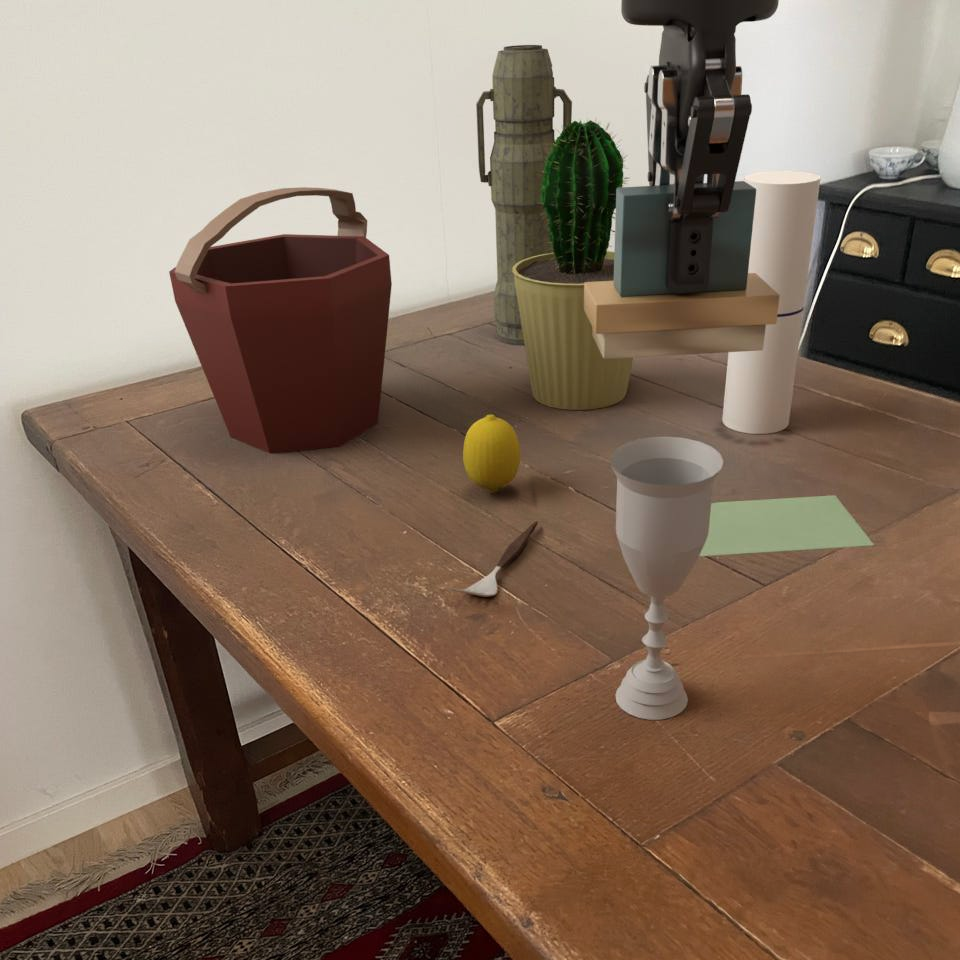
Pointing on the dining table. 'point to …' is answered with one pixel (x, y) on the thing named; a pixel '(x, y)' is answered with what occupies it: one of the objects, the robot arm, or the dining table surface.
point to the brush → (688, 316)
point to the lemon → (491, 453)
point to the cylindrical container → (784, 267)
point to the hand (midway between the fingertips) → (680, 282)
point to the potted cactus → (572, 273)
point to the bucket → (289, 325)
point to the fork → (499, 567)
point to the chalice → (660, 549)
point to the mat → (781, 526)
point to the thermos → (518, 167)
